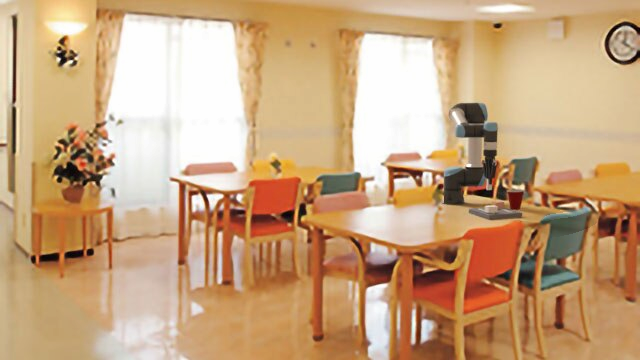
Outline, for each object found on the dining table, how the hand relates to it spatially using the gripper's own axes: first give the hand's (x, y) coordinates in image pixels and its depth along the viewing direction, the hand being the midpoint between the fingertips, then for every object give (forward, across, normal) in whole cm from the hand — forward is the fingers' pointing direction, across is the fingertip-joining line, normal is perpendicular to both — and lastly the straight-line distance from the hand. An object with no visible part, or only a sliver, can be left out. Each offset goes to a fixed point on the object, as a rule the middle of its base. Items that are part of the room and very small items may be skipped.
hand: (489, 189), depth 375 cm
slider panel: (+16, -2, +6) cm, 17 cm away
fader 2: (+13, -8, +12) cm, 19 cm away
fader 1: (+13, +3, 0) cm, 13 cm away
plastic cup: (+16, -14, +28) cm, 35 cm away
